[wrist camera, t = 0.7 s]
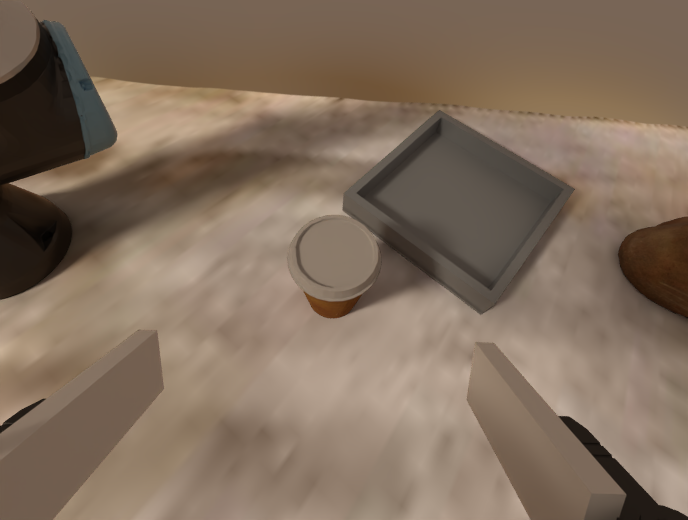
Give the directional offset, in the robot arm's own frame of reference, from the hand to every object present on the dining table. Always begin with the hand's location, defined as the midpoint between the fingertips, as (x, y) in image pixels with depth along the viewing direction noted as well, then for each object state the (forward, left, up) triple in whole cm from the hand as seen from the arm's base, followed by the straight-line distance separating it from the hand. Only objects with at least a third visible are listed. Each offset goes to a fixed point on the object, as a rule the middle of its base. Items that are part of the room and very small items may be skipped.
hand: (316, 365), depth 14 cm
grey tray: (-4, +34, -26) cm, 43 cm away
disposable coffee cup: (-8, +11, -26) cm, 29 cm away
